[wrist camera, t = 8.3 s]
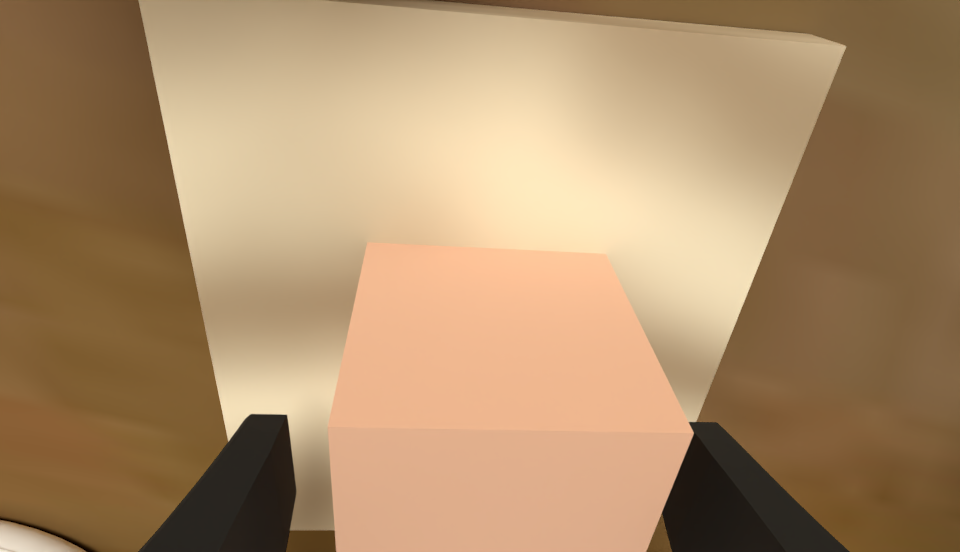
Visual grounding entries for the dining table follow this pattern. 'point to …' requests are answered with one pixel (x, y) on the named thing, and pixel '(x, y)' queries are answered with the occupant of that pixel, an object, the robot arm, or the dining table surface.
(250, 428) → the robot arm
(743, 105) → the birch board
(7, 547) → the wine bottle
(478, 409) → the peach cube
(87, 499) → the dining table surface
